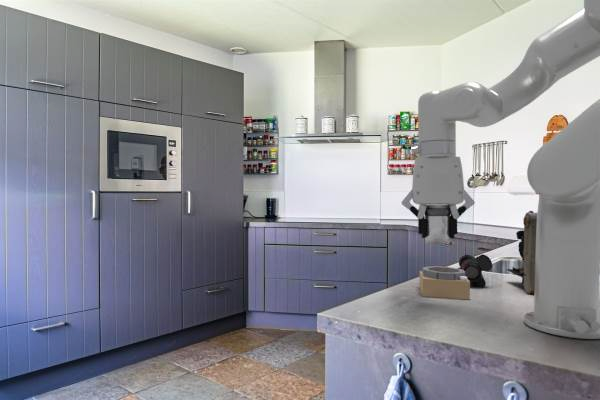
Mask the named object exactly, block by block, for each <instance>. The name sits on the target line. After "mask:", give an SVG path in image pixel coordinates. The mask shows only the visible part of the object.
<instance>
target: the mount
mask: <svg viewBox="0 0 600 400" xmlns="http://www.w3.org/2000/svg"><path fill="white" fill-rule="evenodd" d="M418 279H419V280H418V282H419V283H418V284H419V285H418V288H419V290H420V293H421V296H422V297H424V298H425V297H426V298H440V299H442V298H443V299H455V300H471V299H470V298H471V297H470V296H471V282H470V281H469V280H468V279H467V277H466V272H465V271H464V270H462V269H458V268H455V267H453V266H452V267H450V266H441V265H439V266H438V265H437V266H436V265H432V266H422V270H419V278H418Z"/></svg>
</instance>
